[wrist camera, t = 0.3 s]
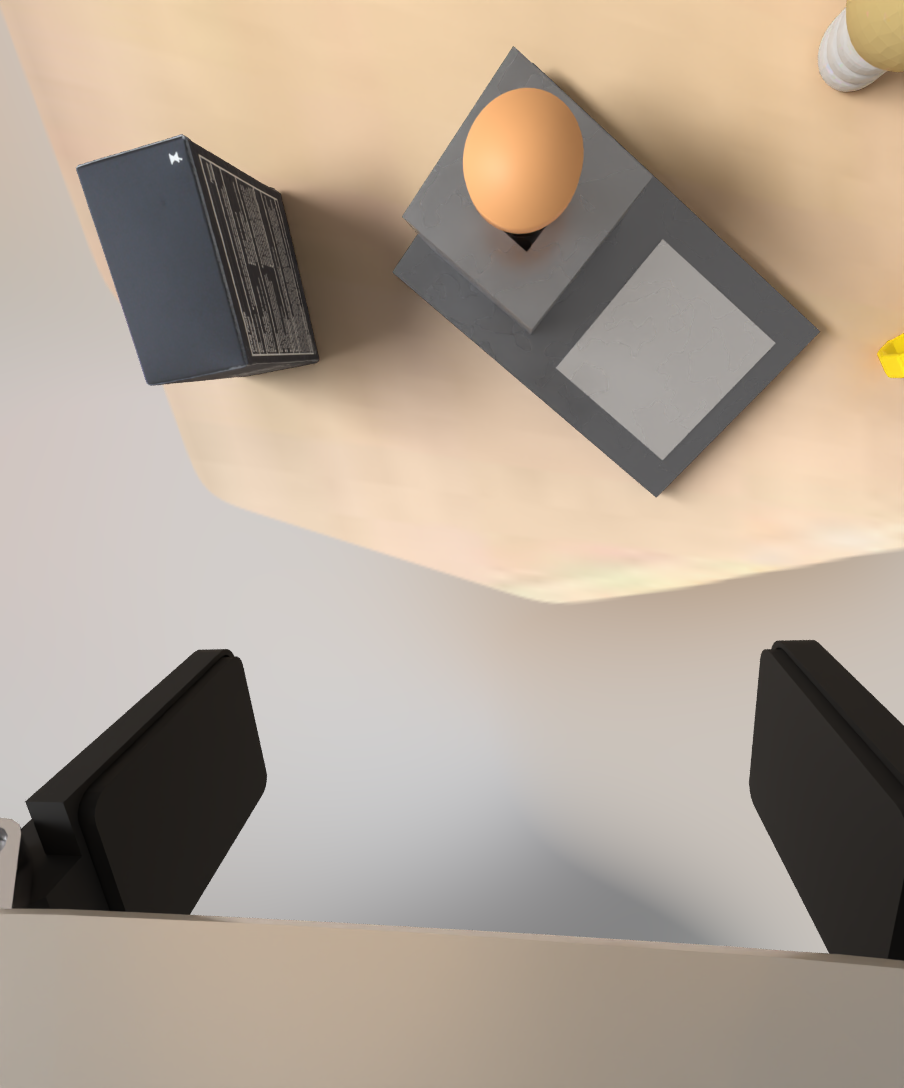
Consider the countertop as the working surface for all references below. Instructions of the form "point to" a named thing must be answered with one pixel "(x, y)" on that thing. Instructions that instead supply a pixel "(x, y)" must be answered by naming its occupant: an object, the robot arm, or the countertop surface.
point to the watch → (893, 357)
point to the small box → (199, 263)
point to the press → (605, 300)
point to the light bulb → (862, 44)
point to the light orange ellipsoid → (523, 160)
